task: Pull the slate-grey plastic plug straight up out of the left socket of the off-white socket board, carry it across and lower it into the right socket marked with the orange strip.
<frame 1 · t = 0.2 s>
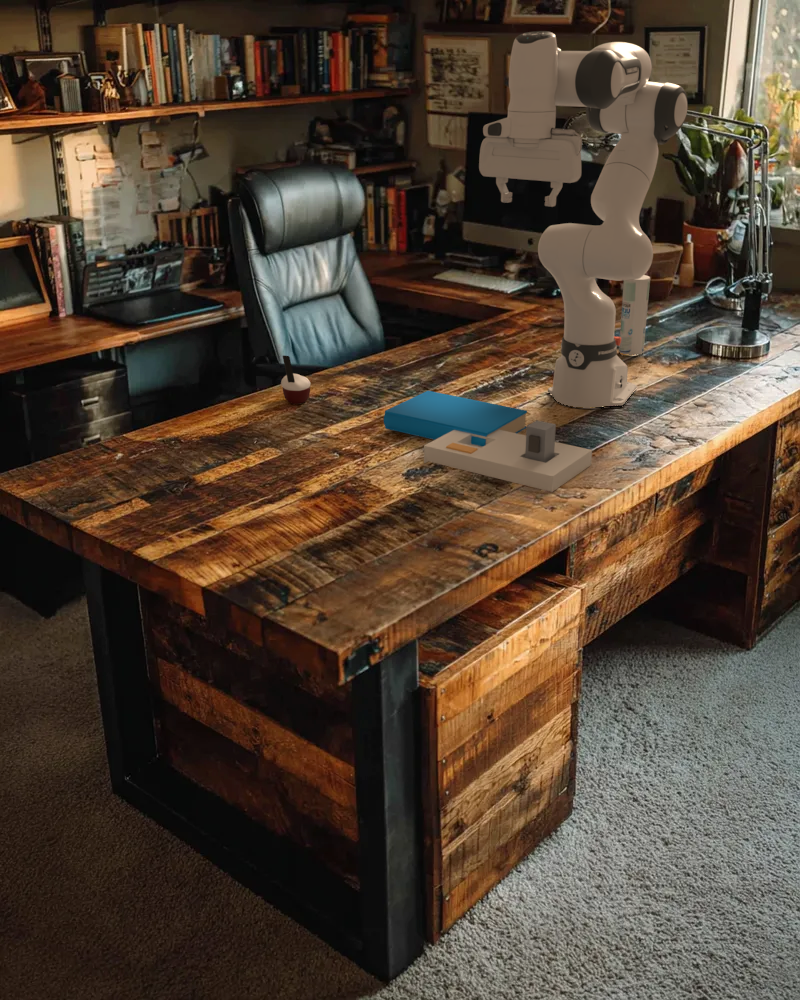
hand: (528, 204, 206), 47 cm above the table, tool pointing down, fingers open, 8 cm apart
plug: (539, 469, 207), point 1 cm above the table, touching socket board
book: (454, 429, 229), point 1 cm above the table, touching socket board
cocoa: (296, 402, 249), on the table
spray can: (630, 354, 283), on the table
socket board: (506, 467, 211), on the table
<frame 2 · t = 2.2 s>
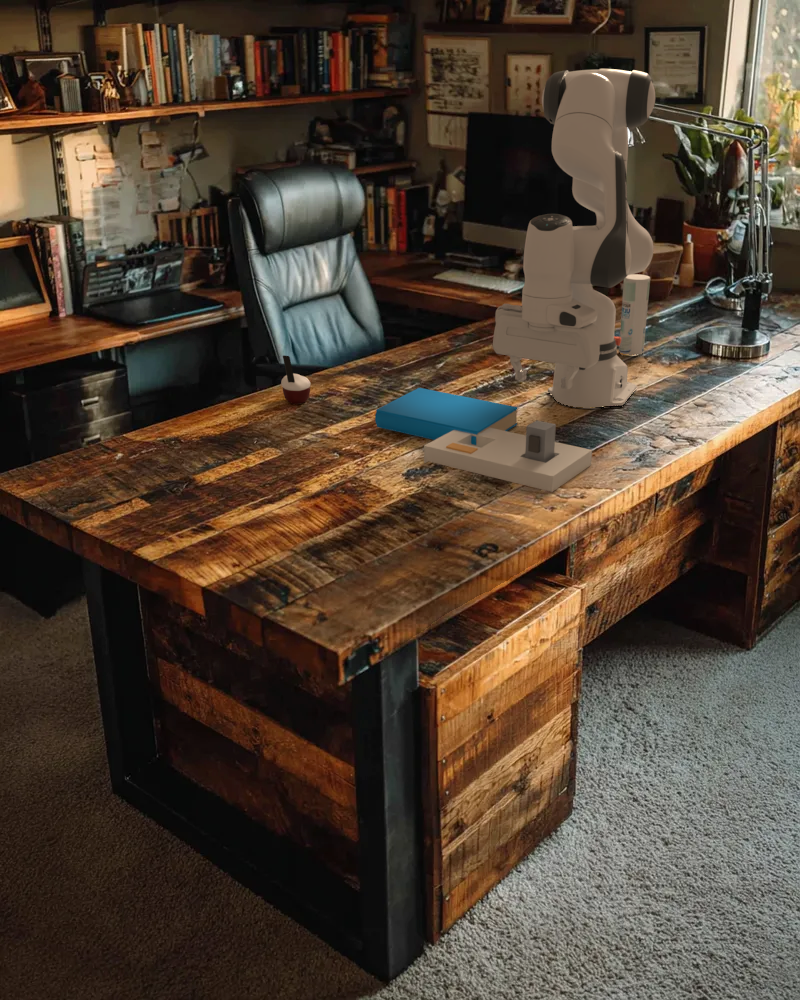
hand: (543, 383, 200), 18 cm above the table, tool pointing down, fingers open, 8 cm apart
book: (446, 427, 230), point 1 cm above the table, touching socket board
everything else where it was.
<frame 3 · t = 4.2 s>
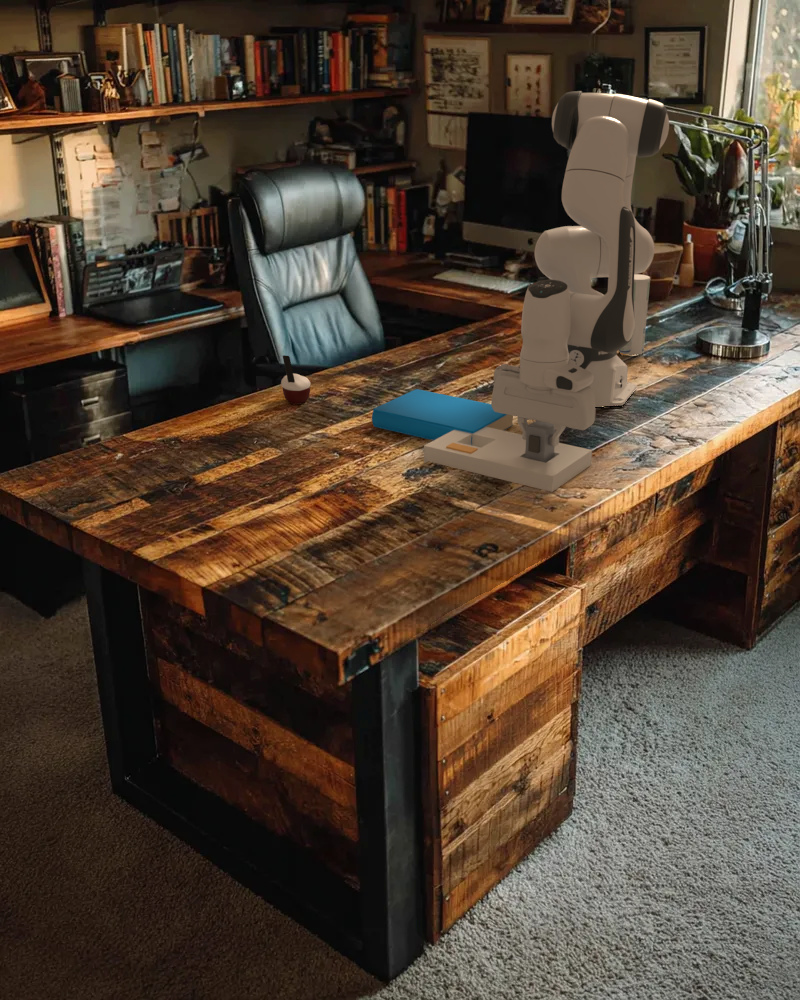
hand: (540, 442, 205), 7 cm above the table, tool pointing down, fingers closed on plug, 4 cm apart
plug: (539, 469, 207), point 1 cm above the table, touching gripper, socket board
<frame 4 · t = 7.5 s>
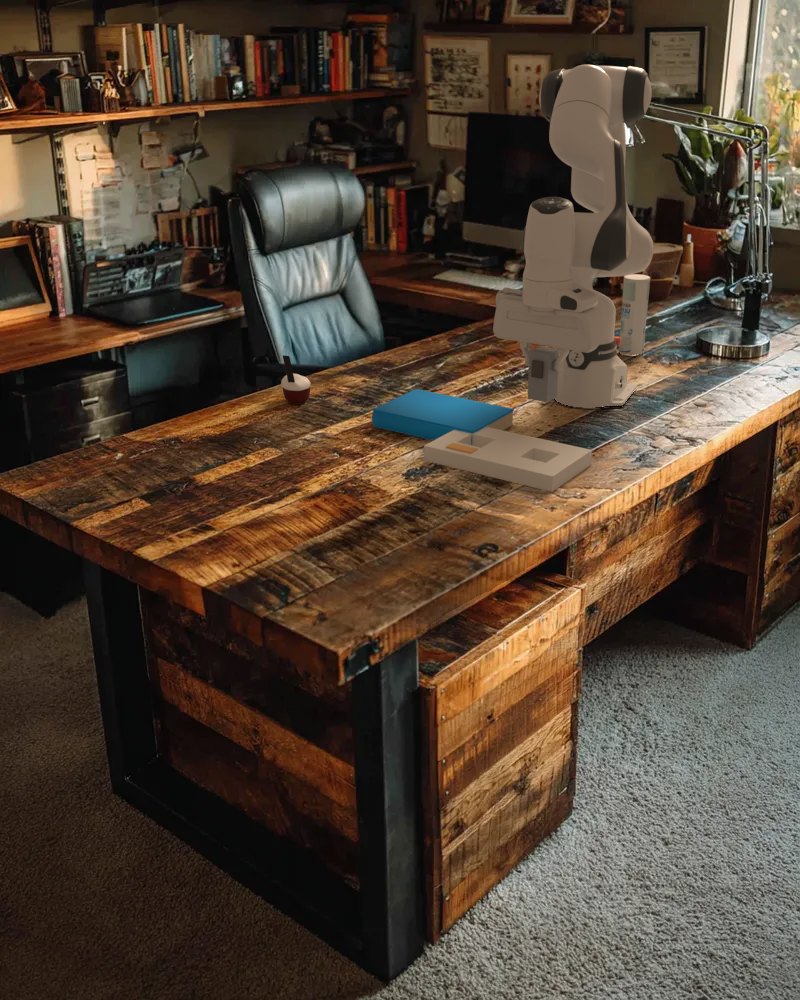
hand: (543, 368, 199), 21 cm above the table, tool pointing down, fingers closed on plug, 4 cm apart
plug: (542, 397, 201), point 15 cm above the table, touching gripper
everything else where it was.
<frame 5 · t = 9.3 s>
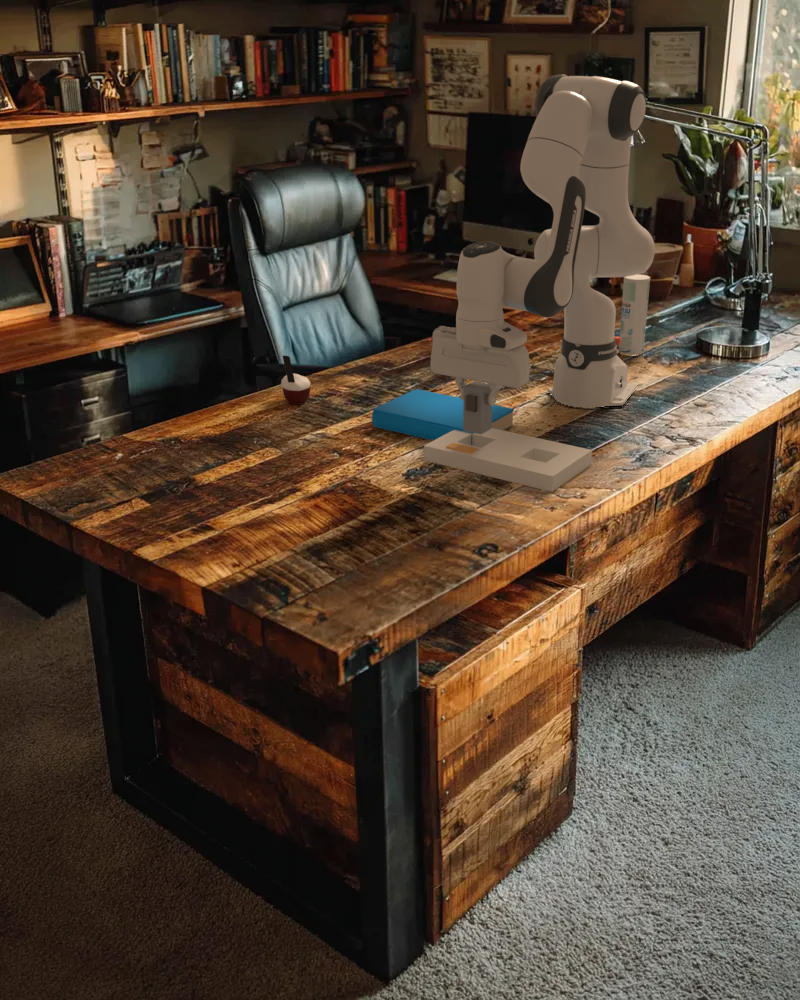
hand: (478, 402, 210), 12 cm above the table, tool pointing down, fingers closed on plug, 4 cm apart
plug: (477, 429, 212), point 6 cm above the table, touching gripper
everything else where it was.
when the fingers open (8 cm above the table, at t = 10.9 s): plug stays where it is, resting on socket board.
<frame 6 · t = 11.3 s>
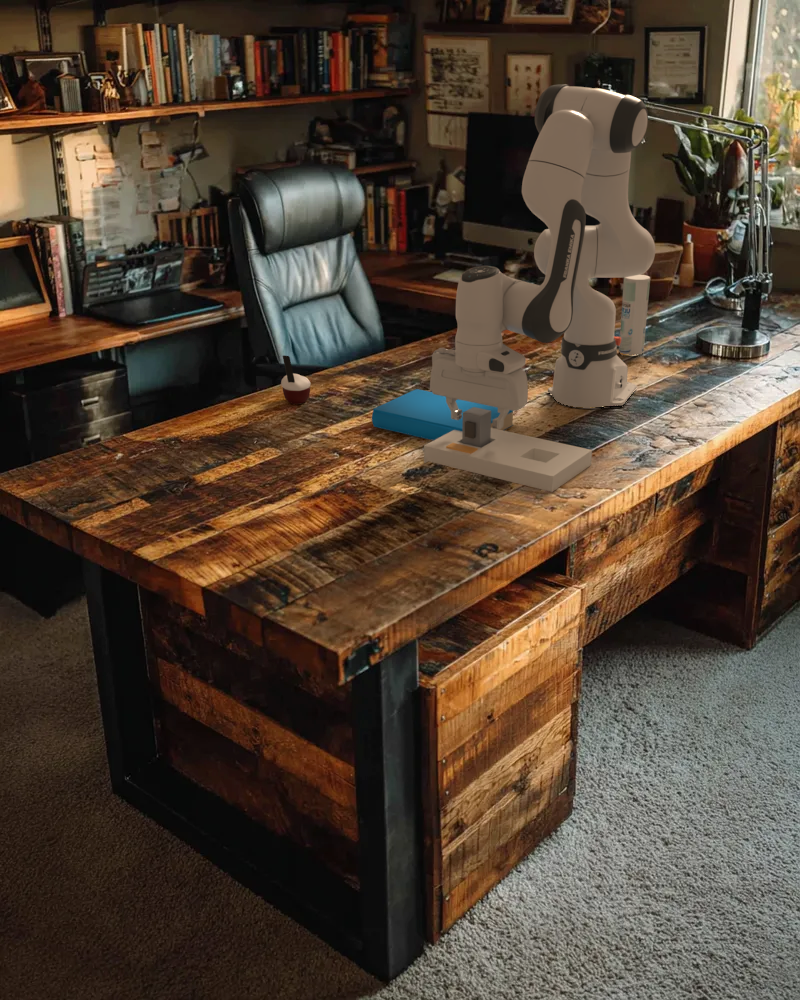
hand: (476, 423, 212), 8 cm above the table, tool pointing down, fingers open, 8 cm apart
plug: (476, 455, 214), point 1 cm above the table, touching socket board
everything else where it was.
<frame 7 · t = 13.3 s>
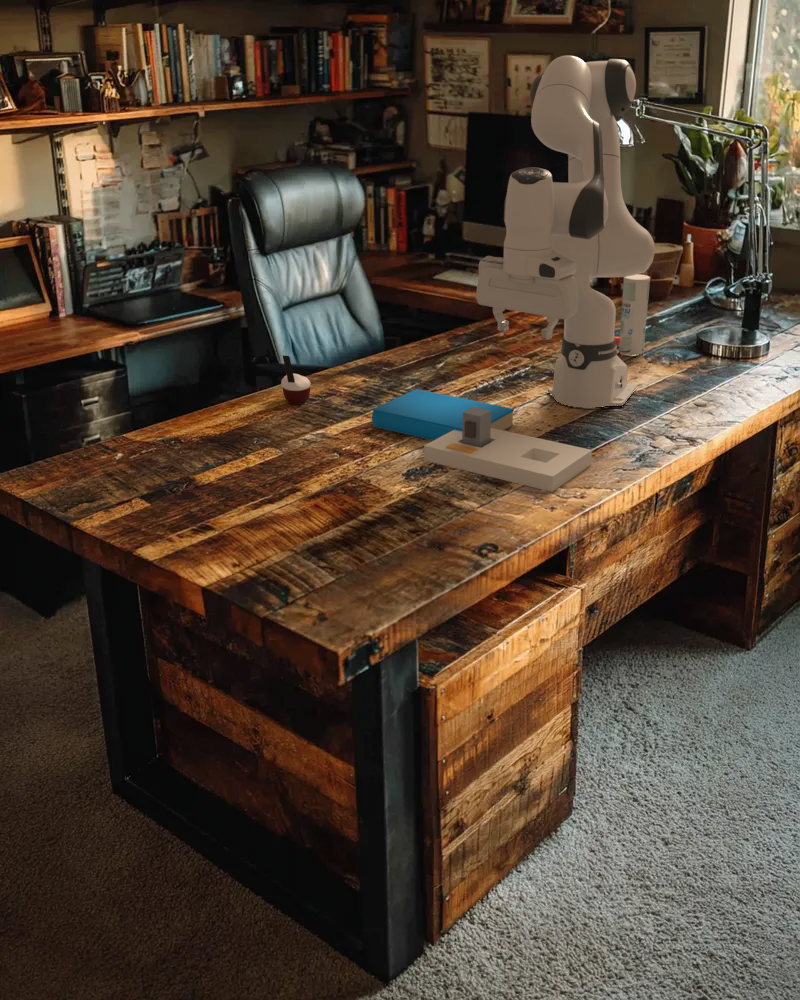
hand: (524, 334, 206), 25 cm above the table, tool pointing down, fingers open, 8 cm apart
nothing on the table moved.
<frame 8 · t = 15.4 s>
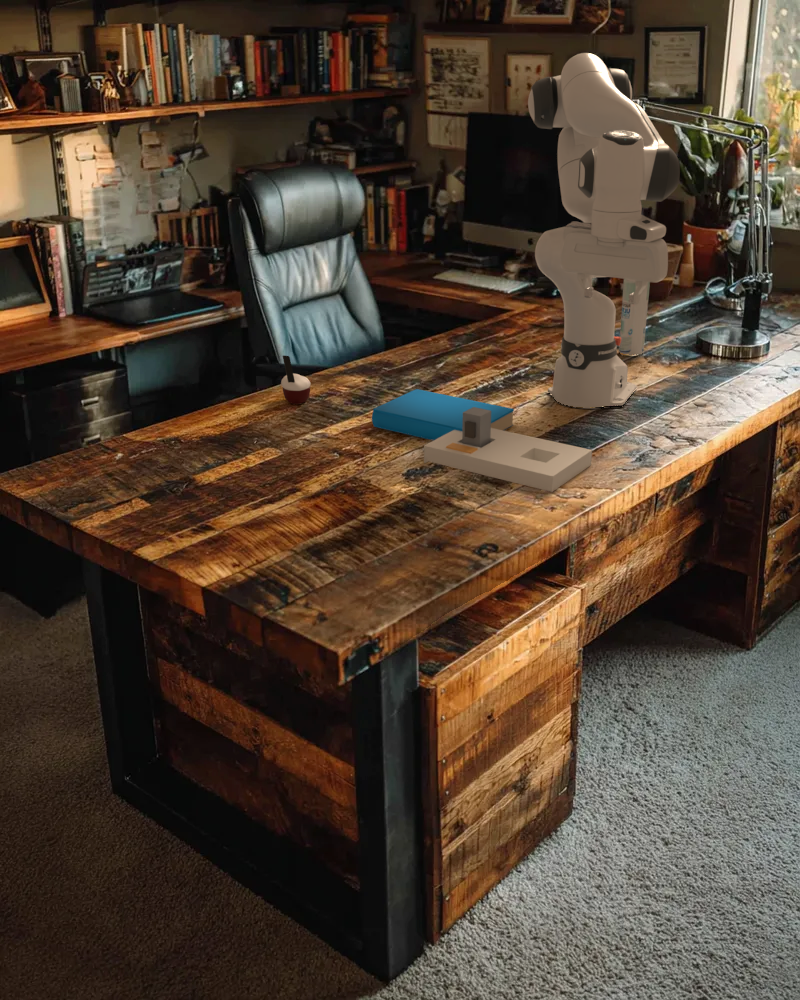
hand: (610, 300, 204), 31 cm above the table, tool pointing down, fingers open, 8 cm apart
nothing on the table moved.
at the end: plug 0.0 cm from the target spot on the socket board, point 1.0 cm above the socket board's base; plug tilted 0°; the gripper is holding nothing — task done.
